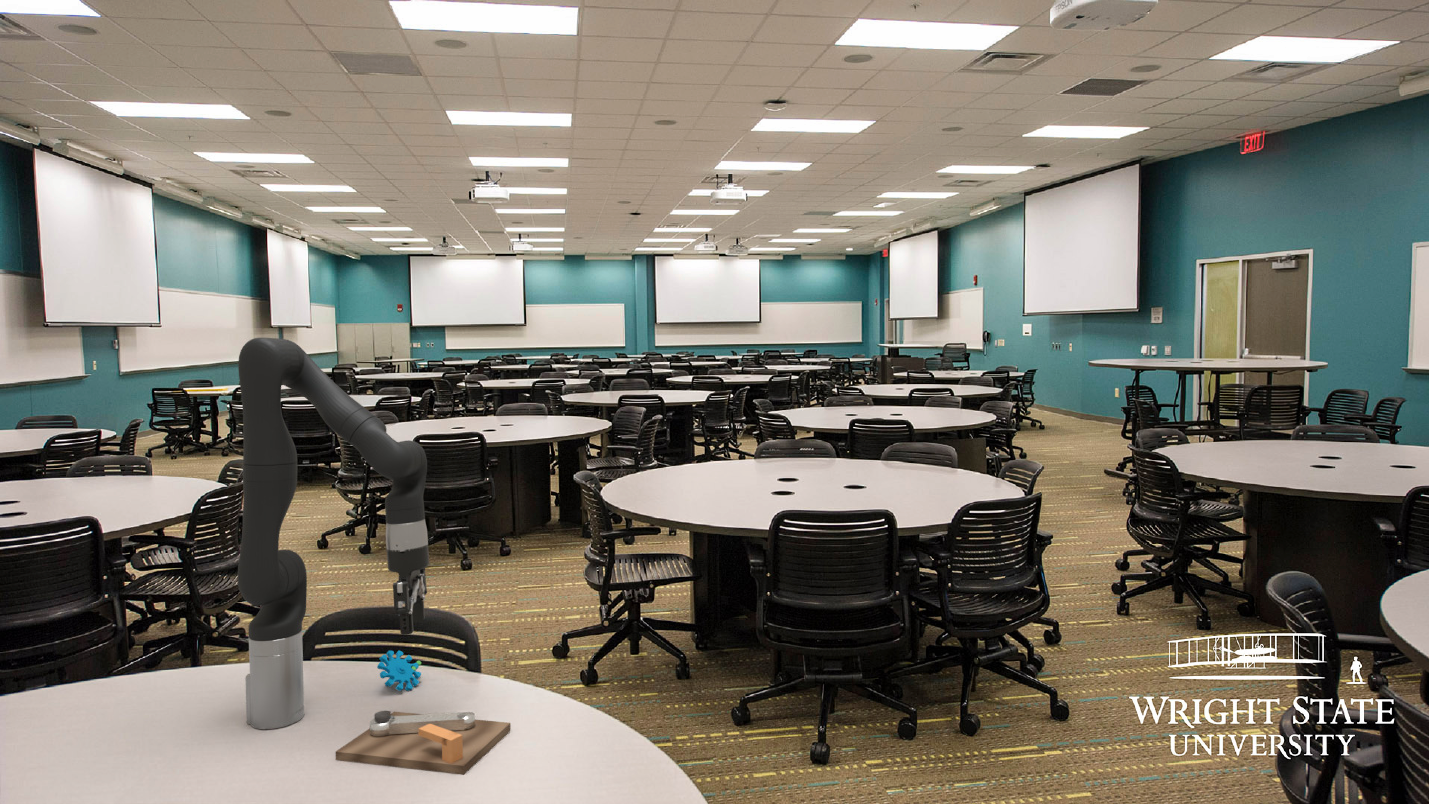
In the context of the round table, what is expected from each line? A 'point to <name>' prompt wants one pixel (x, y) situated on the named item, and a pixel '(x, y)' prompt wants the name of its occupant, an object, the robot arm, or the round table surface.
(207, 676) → the round table surface
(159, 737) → the round table surface
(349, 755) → the base plate
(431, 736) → the block
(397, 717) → the lever
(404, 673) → the gear
